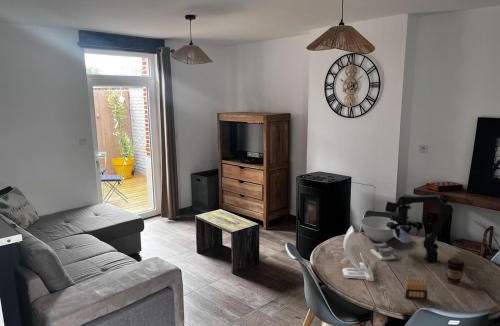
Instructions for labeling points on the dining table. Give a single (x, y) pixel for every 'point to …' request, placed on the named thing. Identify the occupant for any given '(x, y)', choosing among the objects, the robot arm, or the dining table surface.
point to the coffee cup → (454, 270)
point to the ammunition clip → (416, 289)
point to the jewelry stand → (356, 272)
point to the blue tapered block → (402, 236)
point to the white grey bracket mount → (382, 251)
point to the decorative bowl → (377, 228)
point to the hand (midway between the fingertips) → (401, 237)
